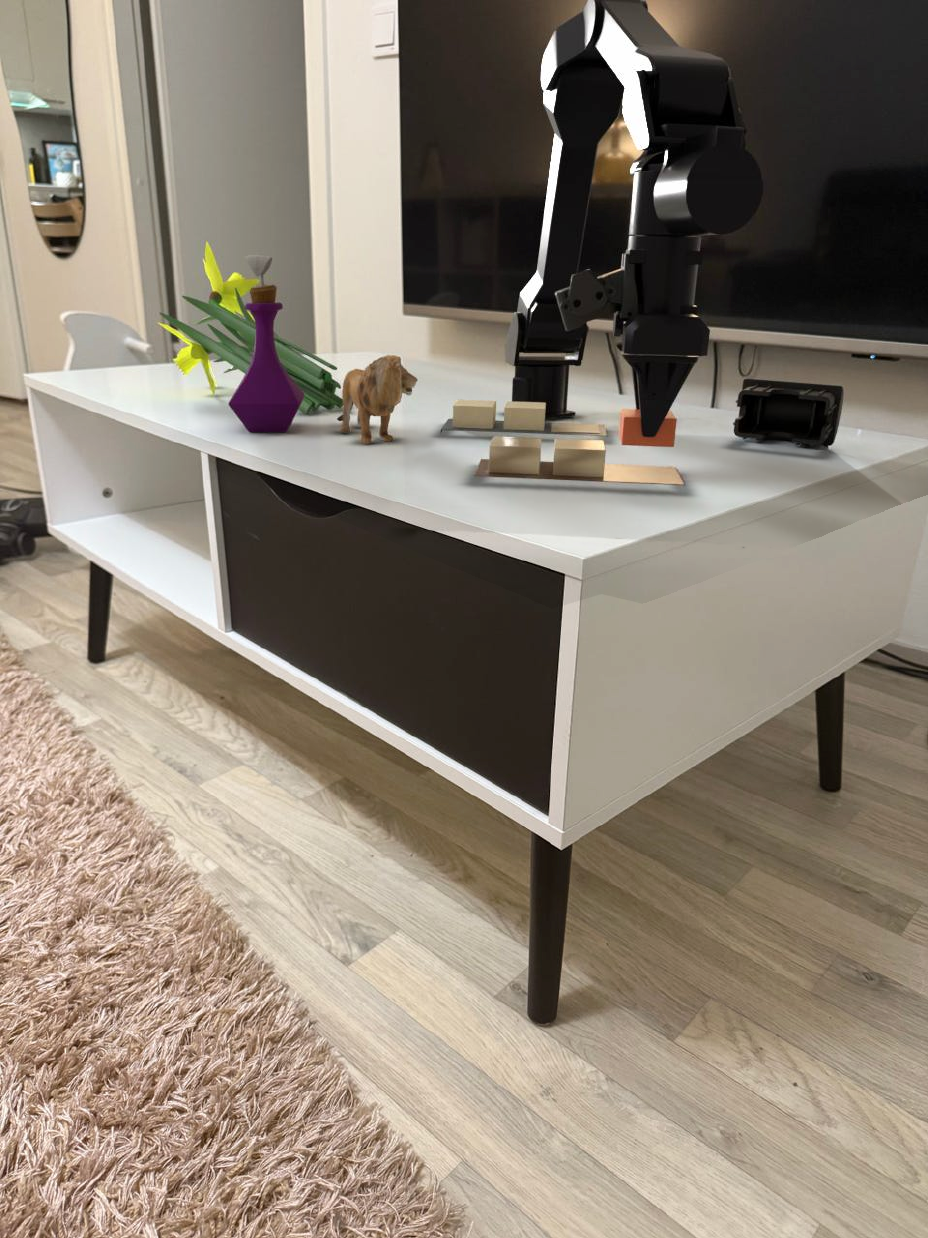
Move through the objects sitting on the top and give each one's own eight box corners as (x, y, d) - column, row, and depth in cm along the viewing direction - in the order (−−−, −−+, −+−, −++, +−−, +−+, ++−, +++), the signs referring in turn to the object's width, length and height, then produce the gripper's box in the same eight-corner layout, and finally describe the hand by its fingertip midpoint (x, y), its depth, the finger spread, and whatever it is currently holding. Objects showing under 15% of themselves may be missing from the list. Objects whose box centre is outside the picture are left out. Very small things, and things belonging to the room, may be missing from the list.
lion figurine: (422, 445, 94) (423, 355, 90) (377, 450, 91) (376, 358, 88) (357, 423, 105) (355, 342, 102) (315, 426, 102) (312, 344, 99)
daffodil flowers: (250, 429, 105) (107, 325, 123) (327, 473, 118) (186, 373, 136) (328, 303, 103) (171, 217, 122) (397, 362, 116) (245, 276, 134)
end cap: (835, 447, 97) (846, 382, 95) (826, 458, 91) (837, 390, 89) (741, 437, 102) (749, 375, 99) (726, 447, 96) (735, 382, 93)
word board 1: (440, 436, 98) (440, 406, 97) (447, 425, 105) (448, 397, 104) (606, 443, 97) (609, 412, 96) (604, 431, 103) (606, 402, 102)
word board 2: (473, 484, 78) (474, 447, 77) (480, 467, 85) (481, 432, 84) (684, 493, 77) (688, 456, 76) (675, 475, 83) (678, 440, 82)
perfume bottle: (240, 422, 104) (228, 254, 97) (306, 422, 105) (298, 255, 98) (230, 434, 97) (216, 254, 90) (300, 435, 98) (292, 255, 91)
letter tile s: (621, 445, 77) (624, 416, 76) (618, 435, 81) (620, 408, 80) (673, 447, 77) (676, 418, 76) (668, 437, 81) (671, 410, 80)
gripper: (564, 236, 82) (554, 411, 88) (564, 232, 65) (551, 449, 71) (689, 239, 81) (670, 415, 87) (722, 235, 64) (696, 455, 70)
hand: (646, 431), depth 79 cm, fingers closed on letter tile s, 4 cm apart
